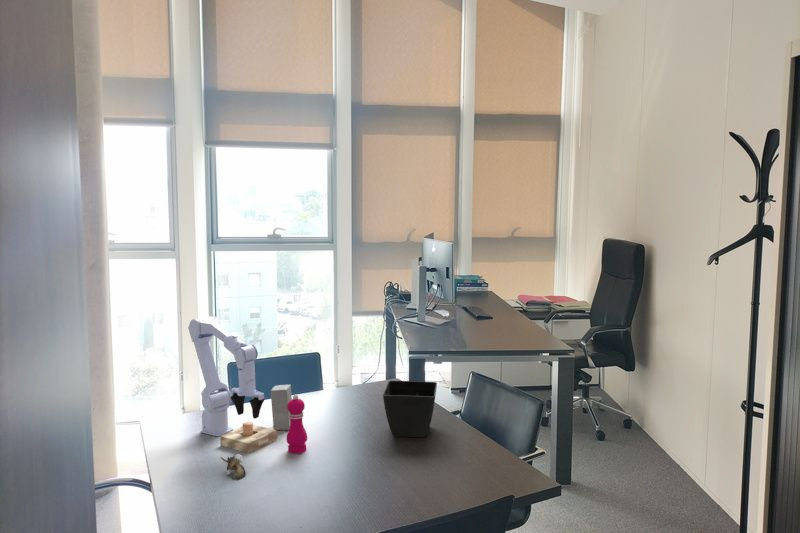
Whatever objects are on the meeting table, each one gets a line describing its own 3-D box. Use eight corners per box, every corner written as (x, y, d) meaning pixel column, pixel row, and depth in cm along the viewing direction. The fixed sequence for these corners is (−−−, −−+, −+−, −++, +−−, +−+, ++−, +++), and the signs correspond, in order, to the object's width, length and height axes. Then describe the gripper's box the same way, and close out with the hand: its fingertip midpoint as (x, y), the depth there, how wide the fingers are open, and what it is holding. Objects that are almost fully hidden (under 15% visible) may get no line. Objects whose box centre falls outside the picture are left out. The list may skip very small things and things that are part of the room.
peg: (241, 440, 217) (240, 424, 216) (249, 437, 219) (248, 421, 219) (247, 442, 214) (246, 426, 214) (255, 439, 217) (255, 423, 217)
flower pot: (437, 422, 235) (437, 380, 233) (435, 441, 216) (435, 396, 214) (389, 421, 237) (388, 380, 235) (383, 440, 218) (382, 395, 216)
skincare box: (289, 430, 228) (288, 390, 227) (271, 430, 229) (269, 390, 227) (294, 422, 237) (292, 383, 235) (276, 422, 237) (274, 383, 235)
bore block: (220, 445, 215) (220, 436, 214) (249, 432, 227) (248, 423, 226) (249, 453, 208) (248, 443, 207) (277, 439, 220) (276, 430, 219)
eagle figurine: (214, 469, 192) (221, 475, 185) (225, 448, 195) (232, 452, 187) (235, 478, 195) (243, 483, 188) (246, 456, 198) (253, 461, 190)
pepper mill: (303, 455, 205) (301, 398, 203) (283, 453, 207) (281, 397, 205) (310, 447, 212) (309, 392, 210) (291, 445, 214) (289, 391, 212)
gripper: (224, 379, 215) (225, 415, 217) (253, 384, 208) (255, 422, 209) (238, 374, 221) (240, 410, 223) (267, 379, 214) (269, 416, 215)
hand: (248, 415), depth 216 cm, fingers open, 7 cm apart
